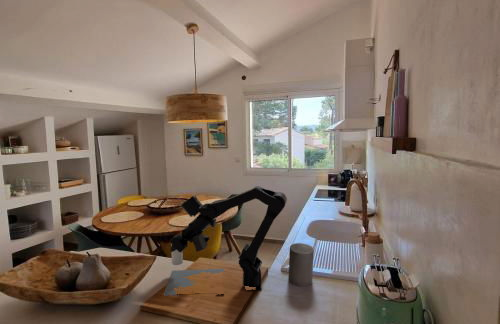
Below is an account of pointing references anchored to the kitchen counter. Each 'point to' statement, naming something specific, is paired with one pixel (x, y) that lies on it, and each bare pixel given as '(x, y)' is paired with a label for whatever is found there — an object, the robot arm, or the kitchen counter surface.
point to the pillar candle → (301, 264)
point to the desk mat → (184, 279)
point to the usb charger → (177, 257)
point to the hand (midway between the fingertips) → (173, 248)
